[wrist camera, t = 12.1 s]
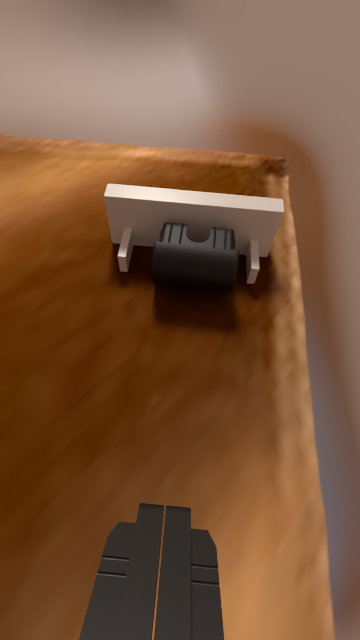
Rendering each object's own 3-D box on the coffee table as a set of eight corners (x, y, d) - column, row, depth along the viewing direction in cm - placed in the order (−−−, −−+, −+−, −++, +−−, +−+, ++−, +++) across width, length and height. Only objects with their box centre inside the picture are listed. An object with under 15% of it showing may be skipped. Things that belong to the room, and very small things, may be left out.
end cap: (151, 296, 44) (150, 260, 38) (159, 255, 47) (159, 217, 42) (229, 305, 43) (239, 270, 38) (230, 263, 47) (240, 226, 41)
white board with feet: (105, 270, 45) (95, 224, 39) (115, 231, 49) (107, 183, 42) (268, 285, 45) (287, 242, 38) (266, 244, 49) (282, 199, 42)
